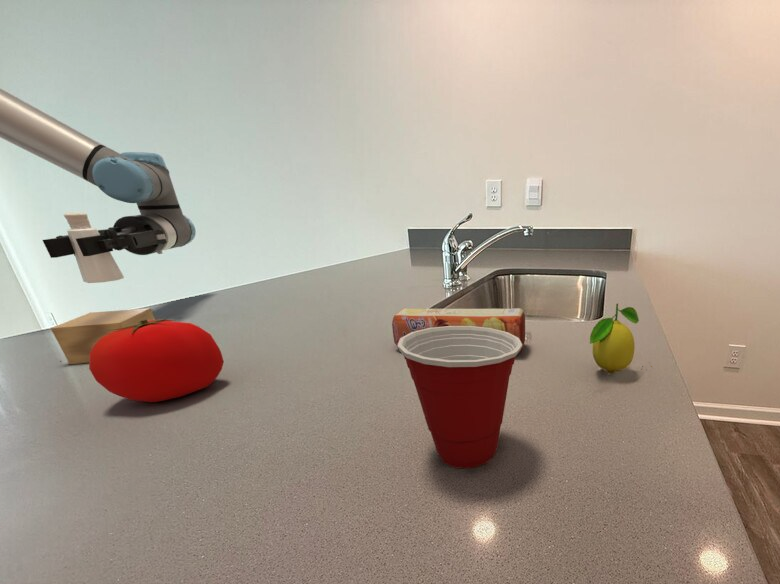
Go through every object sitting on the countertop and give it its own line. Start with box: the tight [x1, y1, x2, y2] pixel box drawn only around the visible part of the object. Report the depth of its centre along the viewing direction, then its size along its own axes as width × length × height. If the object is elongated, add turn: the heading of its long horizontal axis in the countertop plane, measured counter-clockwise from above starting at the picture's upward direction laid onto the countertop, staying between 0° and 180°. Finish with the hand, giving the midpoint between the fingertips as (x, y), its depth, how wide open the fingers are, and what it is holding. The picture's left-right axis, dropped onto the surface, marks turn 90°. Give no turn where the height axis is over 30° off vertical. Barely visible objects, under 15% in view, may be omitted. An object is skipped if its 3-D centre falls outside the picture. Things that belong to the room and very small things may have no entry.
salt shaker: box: [63, 212, 125, 284], centre depth 70 cm, size 5×5×11 cm
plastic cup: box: [396, 326, 523, 469], centre depth 38 cm, size 11×11×12 cm
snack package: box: [391, 307, 526, 354], centre depth 65 cm, size 21×7×7 cm, turn 79°
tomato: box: [88, 317, 225, 403], centre depth 52 cm, size 11×13×10 cm
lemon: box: [589, 303, 640, 375], centre depth 55 cm, size 7×6×10 cm
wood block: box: [50, 307, 156, 365], centre depth 68 cm, size 9×9×6 cm
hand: (66, 248), depth 65 cm, fingers closed on salt shaker, 4 cm apart
